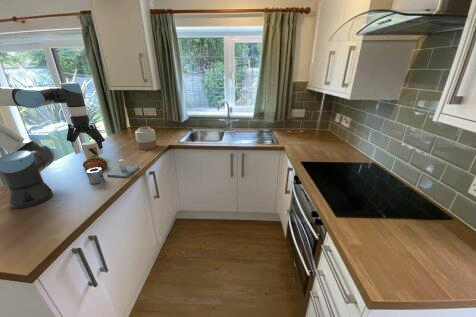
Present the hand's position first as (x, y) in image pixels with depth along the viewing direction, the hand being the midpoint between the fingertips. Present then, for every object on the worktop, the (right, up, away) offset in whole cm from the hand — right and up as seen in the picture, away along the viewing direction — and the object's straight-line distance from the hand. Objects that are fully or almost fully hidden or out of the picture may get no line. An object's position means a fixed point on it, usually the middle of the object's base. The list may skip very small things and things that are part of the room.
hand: (89, 153), depth 113 cm
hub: (0, -16, +6) cm, 17 cm away
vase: (+4, +7, +64) cm, 64 cm away
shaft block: (+10, -11, +17) cm, 23 cm away
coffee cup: (-25, -3, +38) cm, 45 cm away
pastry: (-11, -10, +21) cm, 26 cm away
